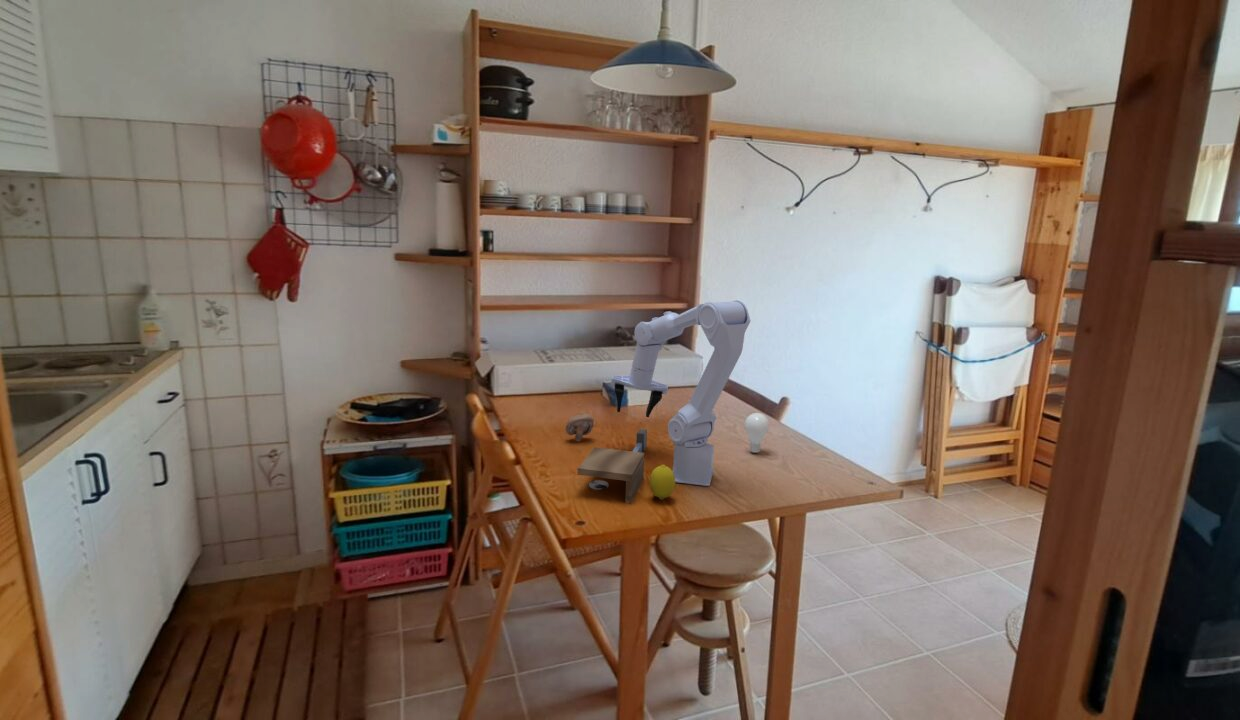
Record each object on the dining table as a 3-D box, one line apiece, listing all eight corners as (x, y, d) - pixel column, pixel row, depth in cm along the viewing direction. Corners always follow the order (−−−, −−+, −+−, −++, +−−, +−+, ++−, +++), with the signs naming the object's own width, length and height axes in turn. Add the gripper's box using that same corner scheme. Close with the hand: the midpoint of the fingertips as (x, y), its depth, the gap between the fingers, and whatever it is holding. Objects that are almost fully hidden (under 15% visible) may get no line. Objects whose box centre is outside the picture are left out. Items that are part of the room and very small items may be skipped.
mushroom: (563, 444, 173) (564, 415, 171) (567, 436, 179) (567, 409, 177) (591, 445, 172) (592, 417, 170) (594, 438, 178) (595, 410, 176)
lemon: (644, 495, 141) (646, 461, 140) (667, 493, 143) (669, 459, 142) (655, 506, 136) (656, 470, 135) (678, 503, 138) (680, 468, 137)
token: (610, 484, 147) (610, 481, 147) (605, 492, 143) (605, 489, 143) (591, 482, 148) (592, 479, 148) (586, 489, 144) (586, 486, 144)
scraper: (646, 447, 172) (647, 429, 171) (630, 474, 153) (631, 454, 152) (639, 446, 173) (639, 428, 172) (622, 473, 154) (623, 453, 153)
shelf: (643, 479, 151) (644, 452, 149) (630, 503, 137) (632, 474, 136) (594, 473, 153) (594, 447, 152) (577, 496, 140) (577, 468, 138)
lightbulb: (769, 457, 168) (773, 417, 166) (746, 457, 168) (749, 416, 165) (762, 448, 174) (766, 410, 172) (739, 448, 174) (742, 409, 172)
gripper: (670, 364, 166) (659, 410, 171) (615, 354, 165) (606, 400, 170) (672, 376, 159) (660, 423, 165) (615, 366, 158) (605, 413, 164)
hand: (632, 412), depth 167 cm, fingers open, 7 cm apart
